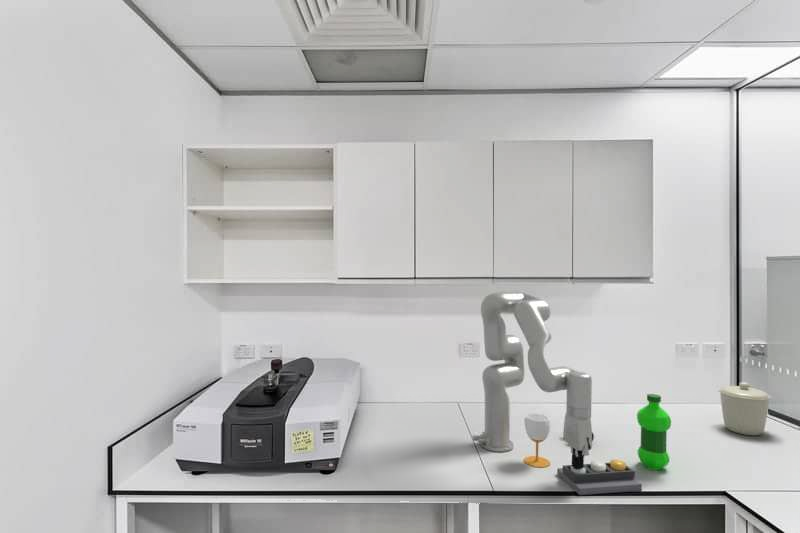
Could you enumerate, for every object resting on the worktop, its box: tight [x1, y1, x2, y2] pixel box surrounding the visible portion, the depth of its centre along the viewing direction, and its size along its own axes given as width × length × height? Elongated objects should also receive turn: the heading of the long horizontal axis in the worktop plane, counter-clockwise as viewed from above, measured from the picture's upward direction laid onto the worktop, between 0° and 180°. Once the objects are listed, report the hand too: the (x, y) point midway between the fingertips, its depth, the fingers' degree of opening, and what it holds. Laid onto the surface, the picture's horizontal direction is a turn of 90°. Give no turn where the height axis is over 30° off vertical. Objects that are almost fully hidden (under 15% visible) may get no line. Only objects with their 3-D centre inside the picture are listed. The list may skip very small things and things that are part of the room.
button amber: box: [609, 459, 627, 471], centre depth 150 cm, size 5×5×2 cm
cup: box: [523, 413, 551, 468], centre depth 164 cm, size 9×9×16 cm
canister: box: [718, 381, 772, 436], centre depth 196 cm, size 18×18×21 cm
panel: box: [556, 462, 643, 496], centre depth 149 cm, size 21×14×4 cm, turn 99°
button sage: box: [571, 466, 586, 474], centre depth 148 cm, size 5×5×2 cm
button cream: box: [590, 460, 606, 473], centre depth 149 cm, size 5×5×2 cm
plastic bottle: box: [636, 393, 672, 471], centre depth 161 cm, size 10×10×25 cm
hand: (577, 467), depth 148 cm, fingers closed
